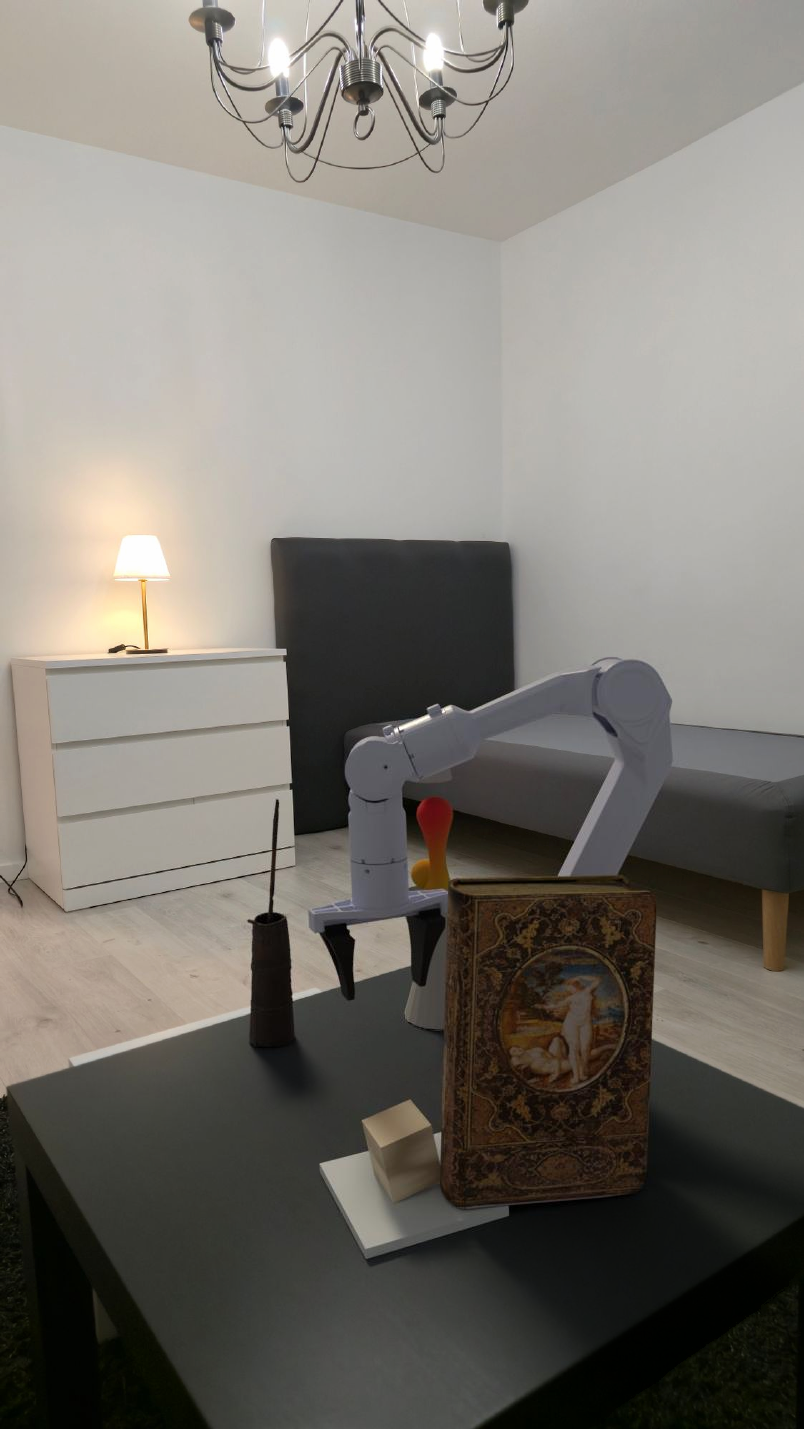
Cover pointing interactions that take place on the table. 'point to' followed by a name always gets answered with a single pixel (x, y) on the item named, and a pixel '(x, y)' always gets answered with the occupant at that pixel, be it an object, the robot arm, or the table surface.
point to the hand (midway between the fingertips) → (384, 989)
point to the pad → (395, 1208)
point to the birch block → (402, 1150)
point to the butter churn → (271, 971)
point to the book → (546, 1039)
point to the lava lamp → (432, 875)
